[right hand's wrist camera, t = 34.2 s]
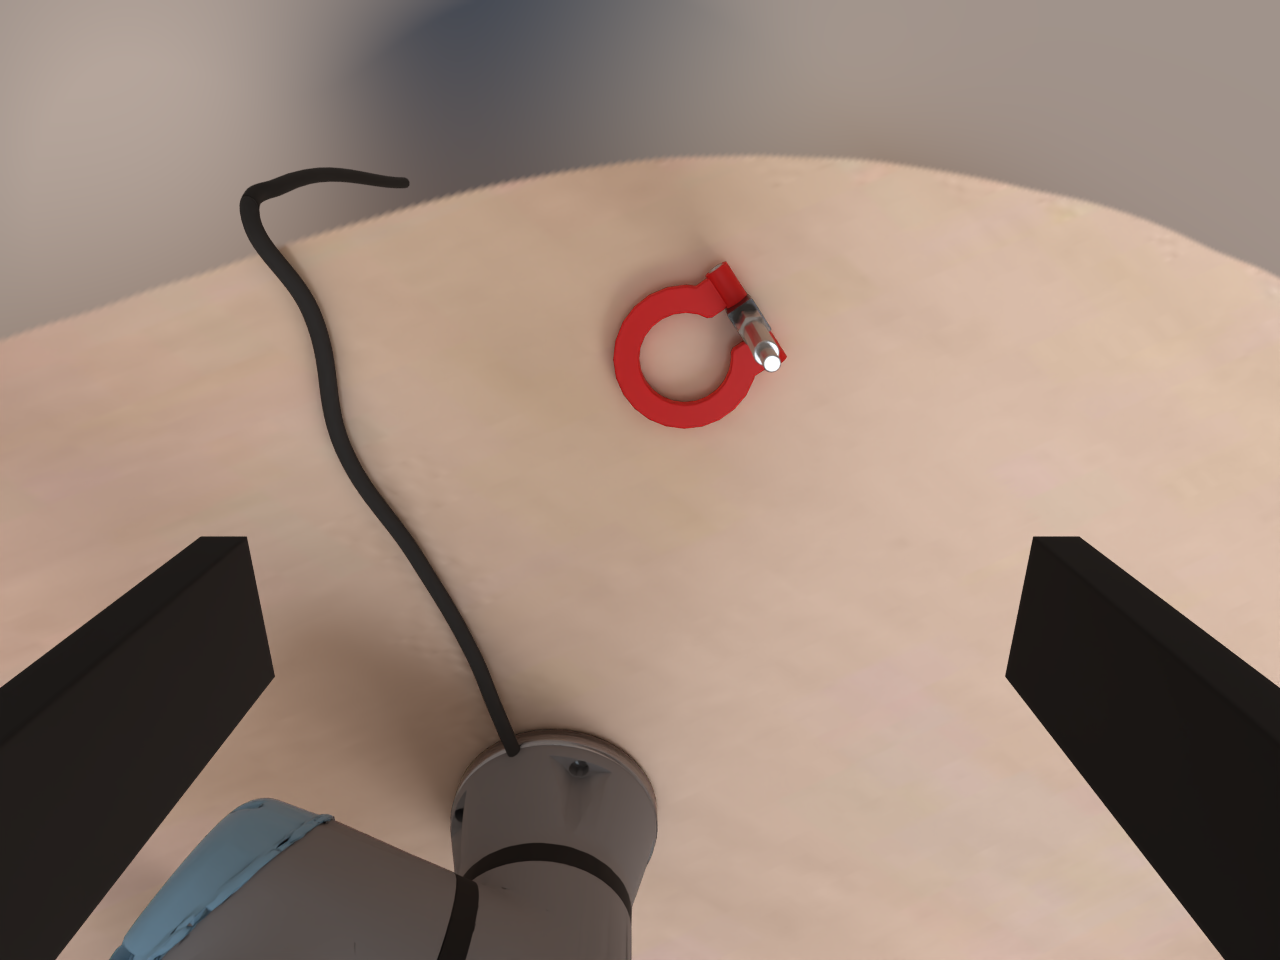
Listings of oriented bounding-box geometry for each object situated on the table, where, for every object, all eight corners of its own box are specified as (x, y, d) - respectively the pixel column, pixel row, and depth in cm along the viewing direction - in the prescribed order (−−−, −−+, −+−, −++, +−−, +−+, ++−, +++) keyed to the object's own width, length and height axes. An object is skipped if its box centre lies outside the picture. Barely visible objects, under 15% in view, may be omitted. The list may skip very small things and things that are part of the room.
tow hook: (666, 448, 47) (794, 365, 45) (664, 538, 35) (838, 431, 33) (587, 338, 44) (717, 245, 42) (554, 394, 32) (734, 268, 30)
